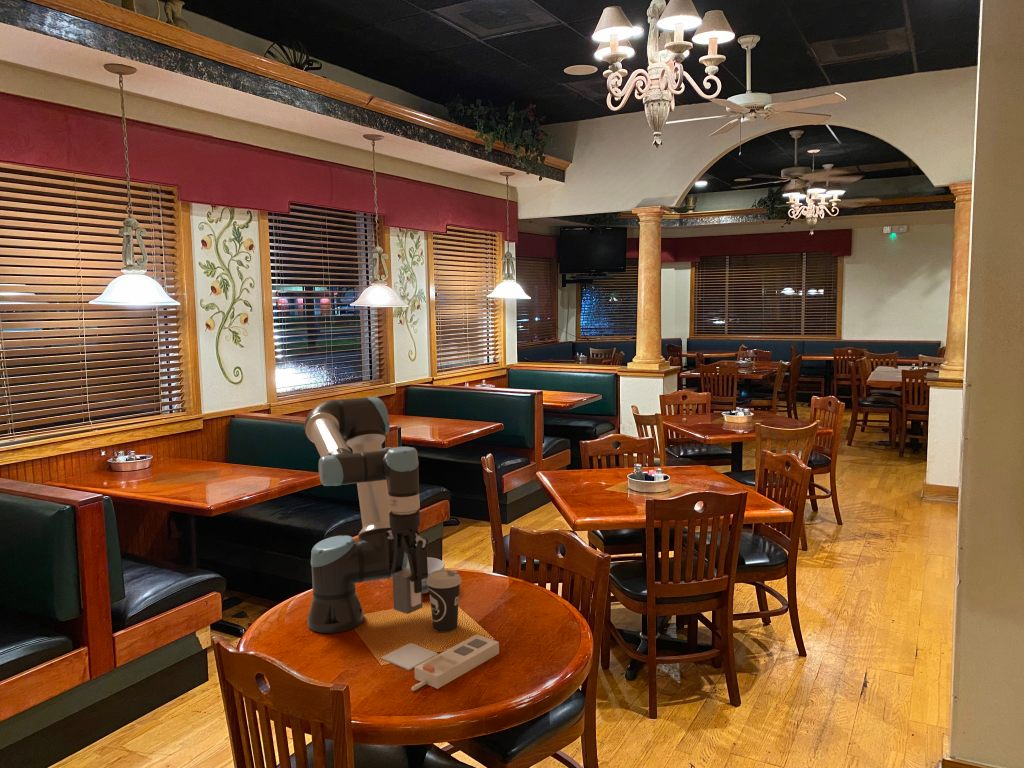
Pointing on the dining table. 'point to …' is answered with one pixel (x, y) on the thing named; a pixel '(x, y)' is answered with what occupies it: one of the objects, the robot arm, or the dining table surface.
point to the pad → (409, 656)
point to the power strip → (455, 661)
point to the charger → (403, 592)
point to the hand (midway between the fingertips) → (408, 601)
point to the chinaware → (430, 570)
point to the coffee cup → (444, 598)
